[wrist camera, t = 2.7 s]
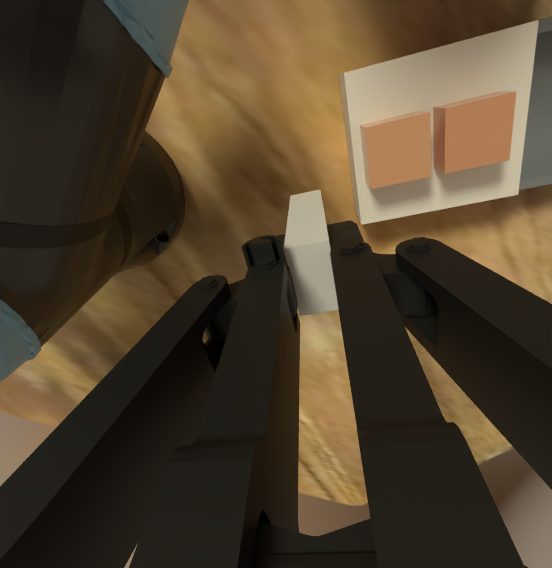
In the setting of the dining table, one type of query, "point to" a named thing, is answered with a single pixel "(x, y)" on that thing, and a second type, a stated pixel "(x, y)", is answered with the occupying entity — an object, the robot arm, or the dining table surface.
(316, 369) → the dining table surface
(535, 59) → the tray
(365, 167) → the tile
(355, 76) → the board
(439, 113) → the tile
